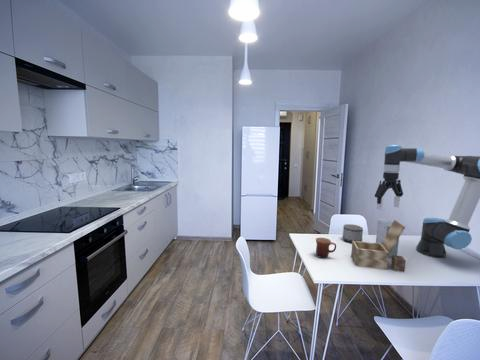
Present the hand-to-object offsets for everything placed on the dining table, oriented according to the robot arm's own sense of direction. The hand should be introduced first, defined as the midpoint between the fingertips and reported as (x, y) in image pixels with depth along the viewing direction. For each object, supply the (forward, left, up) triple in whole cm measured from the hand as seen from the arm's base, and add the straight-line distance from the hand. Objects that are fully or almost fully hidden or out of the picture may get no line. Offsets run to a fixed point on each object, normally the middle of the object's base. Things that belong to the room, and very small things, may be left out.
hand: (387, 208), depth 138 cm
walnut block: (-5, +10, -32) cm, 34 cm away
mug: (+33, +5, -32) cm, 47 cm away
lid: (-1, +6, -14) cm, 16 cm away
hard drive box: (-6, -12, -32) cm, 35 cm away
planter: (+11, -27, -33) cm, 44 cm away
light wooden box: (+9, +6, -32) cm, 34 cm away
